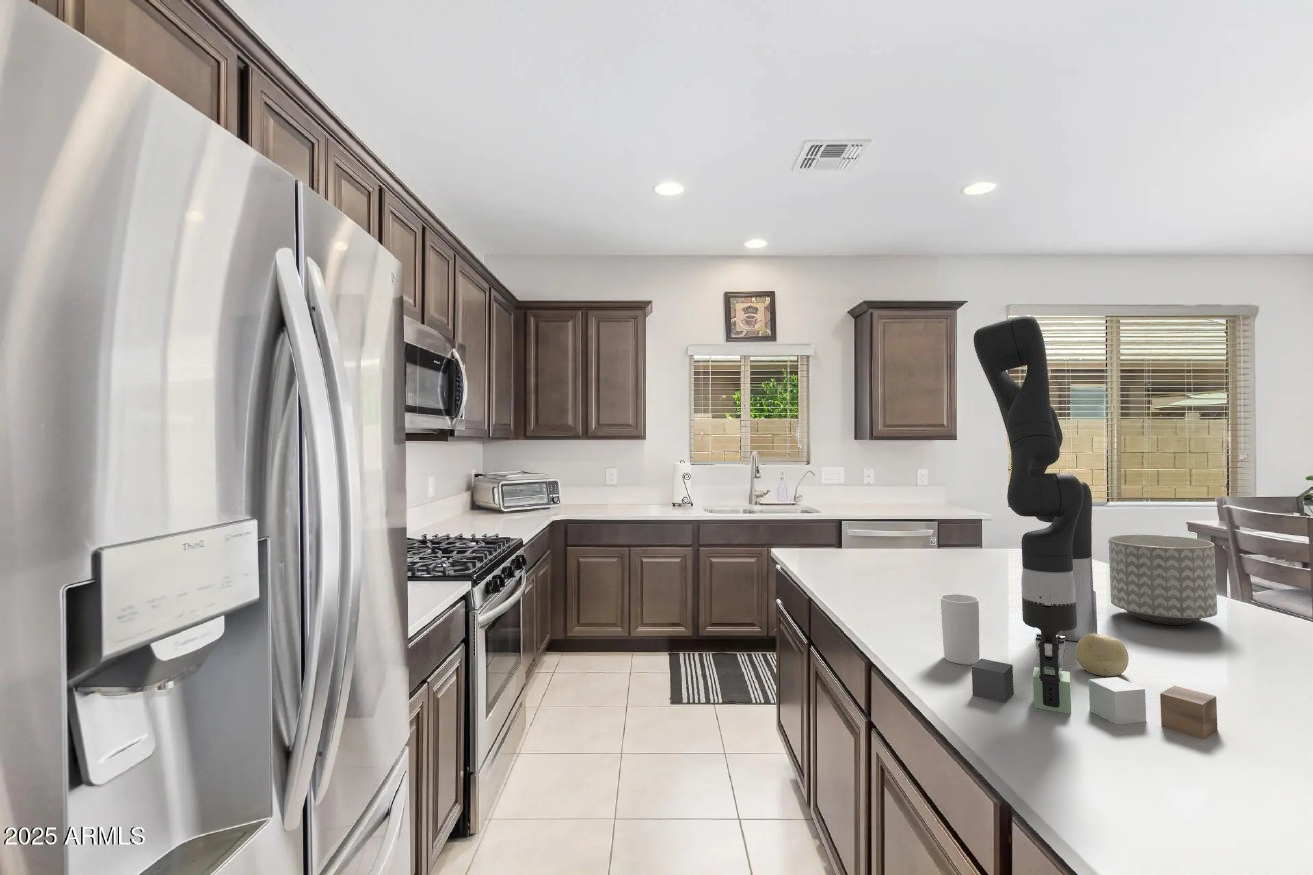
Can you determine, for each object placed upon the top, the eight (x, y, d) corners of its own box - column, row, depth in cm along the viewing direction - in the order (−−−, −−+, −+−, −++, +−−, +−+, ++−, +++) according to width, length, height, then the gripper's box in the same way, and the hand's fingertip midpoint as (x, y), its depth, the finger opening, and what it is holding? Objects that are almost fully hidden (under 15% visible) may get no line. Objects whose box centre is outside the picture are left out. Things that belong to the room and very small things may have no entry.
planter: (1208, 614, 148) (1205, 536, 148) (1226, 637, 132) (1223, 550, 132) (1108, 605, 158) (1105, 532, 158) (1114, 625, 142) (1111, 544, 142)
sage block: (1035, 696, 106) (1034, 666, 106) (1071, 702, 103) (1069, 671, 103) (1033, 707, 102) (1032, 676, 102) (1071, 714, 99) (1069, 682, 99)
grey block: (1118, 708, 101) (1117, 676, 101) (1146, 722, 96) (1145, 688, 96) (1089, 710, 100) (1088, 679, 100) (1116, 724, 95) (1114, 691, 95)
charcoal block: (982, 686, 111) (980, 658, 111) (1013, 694, 107) (1012, 664, 107) (972, 695, 107) (971, 666, 107) (1005, 703, 104) (1003, 673, 104)
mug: (974, 668, 119) (972, 604, 120) (937, 660, 124) (935, 599, 124) (990, 653, 127) (987, 593, 127) (954, 647, 131) (952, 589, 132)
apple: (1069, 672, 115) (1064, 629, 119) (1095, 682, 118) (1089, 641, 122) (1115, 670, 109) (1108, 625, 112) (1142, 681, 112) (1134, 637, 115)
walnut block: (1175, 718, 96) (1174, 685, 96) (1217, 730, 92) (1216, 696, 92) (1161, 726, 94) (1160, 693, 94) (1203, 739, 90) (1202, 704, 90)
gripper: (1024, 584, 111) (1028, 677, 111) (1018, 603, 99) (1022, 707, 99) (1076, 589, 106) (1080, 685, 106) (1076, 609, 95) (1080, 718, 95)
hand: (1052, 696), depth 103 cm, fingers open, 8 cm apart
